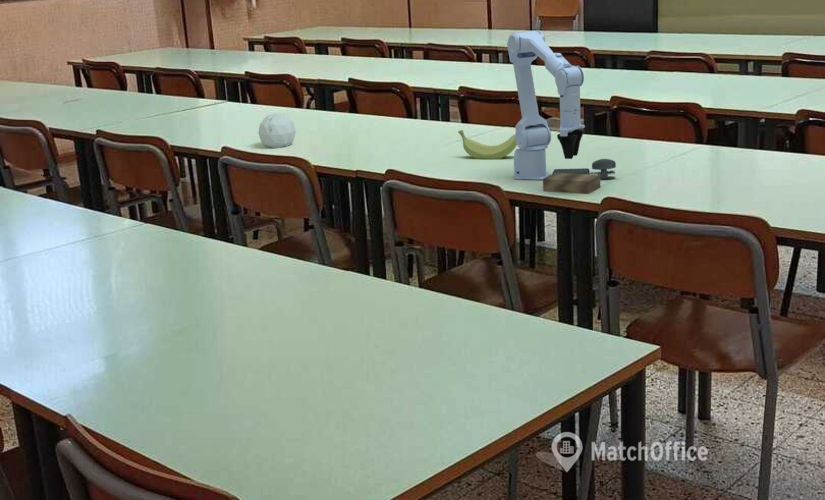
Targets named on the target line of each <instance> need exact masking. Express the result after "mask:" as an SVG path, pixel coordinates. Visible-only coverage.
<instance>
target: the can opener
mask: <svg viewBox="0 0 825 500" xmlns="http://www.w3.org/2000/svg"><path fill="white" fill-rule="evenodd" d="M616 164H617V163H616V161H615V160H613V159H610V158H600V159H598V160H597V159H596V160H594V161H593V162H592V163H591V169H592V170H591V171H590V168H588V167H587V168H556V169H554V170H553V171H552V173H551V175H552V174H554V173H572V174H590V175H600V179H607V178H608V177H609V175H611V176H612V175H615V174H616V170H613V169H615V168H617V165H616Z"/></svg>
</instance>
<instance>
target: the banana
mask: <svg viewBox="0 0 825 500" xmlns="http://www.w3.org/2000/svg"><path fill="white" fill-rule="evenodd" d="M457 133H458V134H459V136H461V138H462V146H463V149H464V151H465V152H466V153H467V154H468V155H469V156H471V157H472V158H474V159H476V160H500V159H503V158H505V157H506V156H508V155H510V154H511V153H512V152H513V151H514V150H516V149H515V148H516V147H518V146H517V144H516V140H515V135H516V133H514V134H513V135H511V136H510V137H509V138H508V139H507V140H505V141H504V142H502V143H499V144H495V145H486V144H482V143H480V142H477V141H476V140H473V139H470V138H468V137H466V135H465V133H464V130H463V129H460V130H458V131H457Z"/></svg>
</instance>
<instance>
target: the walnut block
mask: <svg viewBox="0 0 825 500" xmlns="http://www.w3.org/2000/svg"><path fill="white" fill-rule="evenodd" d="M542 186H543V187H542V189H543V190H542V191H543V192H553V193H554V192H555V193H571V194H583V195H589V194H591V193H593V192H594V191H596V190H598V189H600V188H601V177H600V175H597V174H595V175H590V174H572V173H554V174H552V173H551V174H550V175H549V176H548V177H546V178H543V180H542Z"/></svg>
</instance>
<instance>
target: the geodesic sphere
mask: <svg viewBox="0 0 825 500" xmlns="http://www.w3.org/2000/svg"><path fill="white" fill-rule="evenodd" d="M296 133H297V130H296V127H295V124H294V121H293V120H292V119H291V118H290V117H289V116H288V115H287V114H285V113H283V114H282V113H277V112H274V113H272V114H269V115H266V116H265V117H264V118H263V120H262V121H261V122H260V123H259V128H258V135H259V140H260V143H262V144H263V145H264V146H265V147H266V148H269V149H272V148H273V149H279V148H285V147H289V146H291V144H292V143H293V142H294V140H295V136H296Z"/></svg>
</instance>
